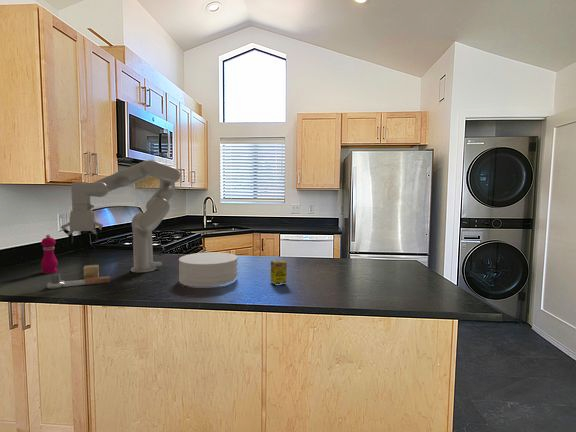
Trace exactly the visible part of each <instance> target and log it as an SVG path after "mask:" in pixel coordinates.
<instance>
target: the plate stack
mask: <svg viewBox="0 0 576 432" xmlns="http://www.w3.org/2000/svg"><path fill="white" fill-rule="evenodd" d="M178 263H179V264H178V268H179V270H178V273H179V274H178V278H179V280H178V283H179V282H180V283H182V284H184V285H190V286H193V285H194V286H211V285H220V284H222V285H223V284H225V283H228V282H231V281H233V280H234V279H235V278H236V277H238V272H239V271H238V255H236V254H234V253H229V252H219V251H218V252H215V251H211V252H207V251H206V252H197V253H195V252H194V253H190V254H186V255H182V256H181V257H179V259H178ZM180 283H179V284H180Z"/></svg>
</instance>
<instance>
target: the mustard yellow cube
mask: <svg viewBox="0 0 576 432" xmlns="http://www.w3.org/2000/svg"><path fill="white" fill-rule="evenodd" d="M99 268H100V266H99V264H89V265H84V266H83V280H84V279H86V278H94V277H100V271H99Z"/></svg>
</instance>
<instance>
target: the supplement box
mask: <svg viewBox="0 0 576 432" xmlns="http://www.w3.org/2000/svg"><path fill="white" fill-rule="evenodd" d="M287 266H288V264H287V261H285V260H270V280H269V281H271V282H273V283H274V284H280V283H286V284H287V268H288V267H287Z"/></svg>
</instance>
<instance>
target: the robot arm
mask: <svg viewBox="0 0 576 432" xmlns="http://www.w3.org/2000/svg"><path fill="white" fill-rule="evenodd" d="M149 177H153V178H156V179H159V186H158V189H157V190H156V192H155V193H153V194H152V196H151V197H150V198H149V200H148V201H147V202H146V205H145V208H146V210H145V212H138V213H136V214H134V215H133V217H132V220H131V229H132V230H131V231H132V239H133V240H132V241H133V242H132V243H133V244H132V245H133V246H132V247H133V250H132V251H133V252H132V253H133V267H131V268H130V271H131V272H132V273H138V274H139V273H149V272H153V271H155V270H156V269H157V267H159V266H163V264H162V261H154V259H153V255H154V254H153V231H155V229H156V228H157V227H158V226H159V225H160V224H161V222H162V221H163V220H164V218H165V217H166V216H167V215H168V213H169V211H170V202H169V201H171V199H172V198H173V196H174V194H175V190H176V183H177V182H178V181H179V180H181V179H180V178H181V173H180V171H179V169H178V168H176V167H174V166H172V165H168V164H165V163H162V162H159V161H156V160H153V159H148V160H143V161H141V162H139V163H137V164H134V165H131V166H129V167H126V168H124V169H121V170H119V171H117V172H115V173H113V174H110V175H107V176H105V177H103V178H100V179H98V180H95V181H93V182H87V181H85V182H84V181H74V182H72V183H71V184H70V188H71V189H70V191H71V193H70V194H71V207H72V208H71V210H70V213H69V214H70V215H69V222H67V223H65V224H63V225H61V226H60V227H61V230H62V231H63V232H64V233H65V234H66V235H67V236H68V242H69V244H73V243H74V234H73V233H74V232H88V231H90V232H92V233H93V234H92V243H96V242H97V241H98V233H99V232H100V231H102V228H103V226H104V225H103V224H102V223H101V222H97V221H96V219H95V213H94V210H92V209H93V208H95V205H94V204H91V197H97V198H103V197H105V196H107V195H108V193H110V192H112V191H114V190H117V189H120V188H125V187H129V186H131V185H134V184H136V183H138V182H141V181H142V180H145V179H146V178H149ZM96 226H97V227H98V228H97V229H96ZM67 227H69V229H67Z"/></svg>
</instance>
